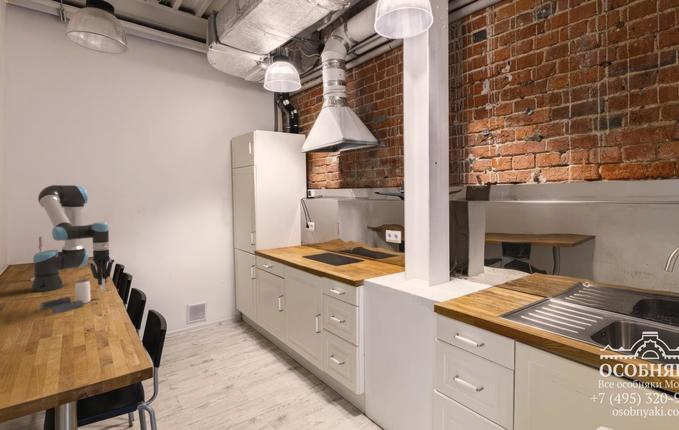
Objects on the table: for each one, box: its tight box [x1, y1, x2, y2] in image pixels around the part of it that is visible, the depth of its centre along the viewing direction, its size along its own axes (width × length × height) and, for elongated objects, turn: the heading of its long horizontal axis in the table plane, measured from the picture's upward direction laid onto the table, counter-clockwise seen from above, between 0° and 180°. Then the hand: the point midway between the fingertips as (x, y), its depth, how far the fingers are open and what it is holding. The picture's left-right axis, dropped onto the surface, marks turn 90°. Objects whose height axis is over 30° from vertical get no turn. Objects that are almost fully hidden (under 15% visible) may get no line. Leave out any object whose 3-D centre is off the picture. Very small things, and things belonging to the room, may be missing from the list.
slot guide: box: [39, 296, 84, 315], centre depth 174 cm, size 15×12×3 cm
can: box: [74, 279, 92, 305], centre depth 183 cm, size 6×6×12 cm
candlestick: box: [29, 236, 45, 282], centre depth 229 cm, size 13×13×30 cm
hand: (102, 289), depth 192 cm, fingers closed
